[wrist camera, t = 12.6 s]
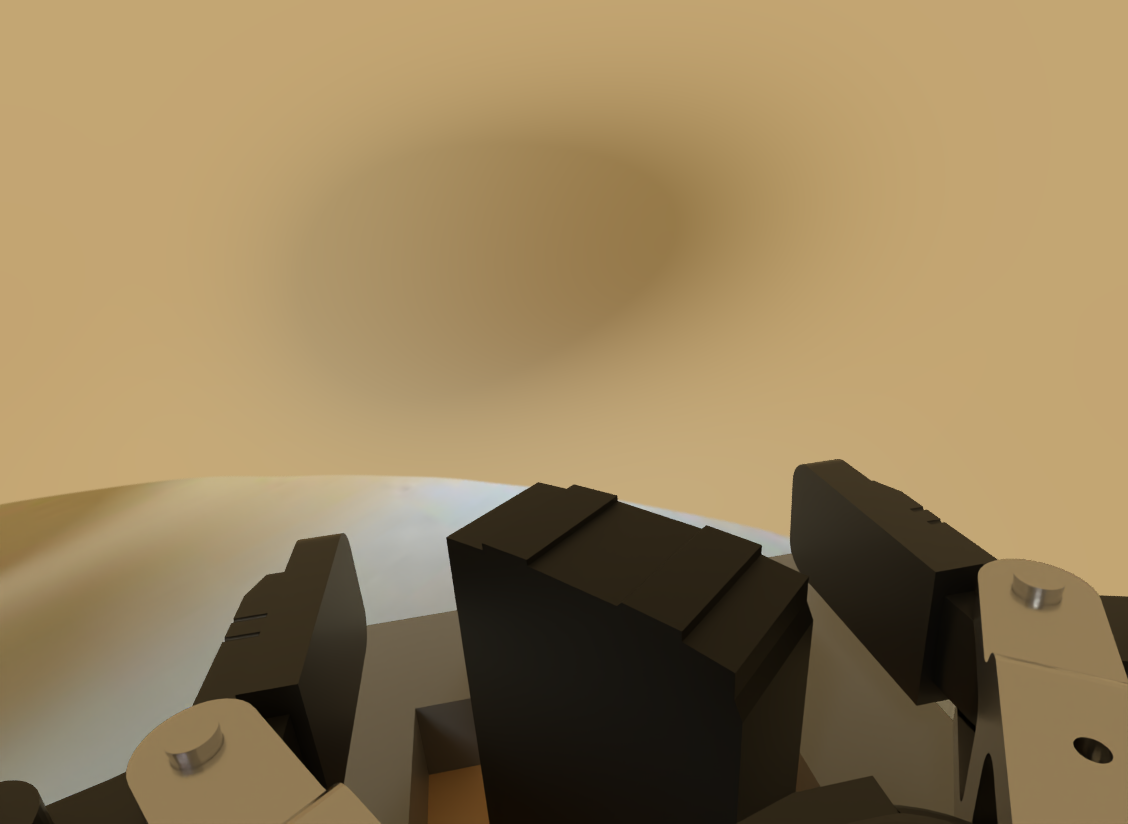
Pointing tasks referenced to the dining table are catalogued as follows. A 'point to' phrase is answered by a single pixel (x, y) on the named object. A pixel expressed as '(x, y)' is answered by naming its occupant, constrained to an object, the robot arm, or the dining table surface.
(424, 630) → the frame
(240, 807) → the robot arm
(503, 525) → the ink cartridge
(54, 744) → the dining table surface
